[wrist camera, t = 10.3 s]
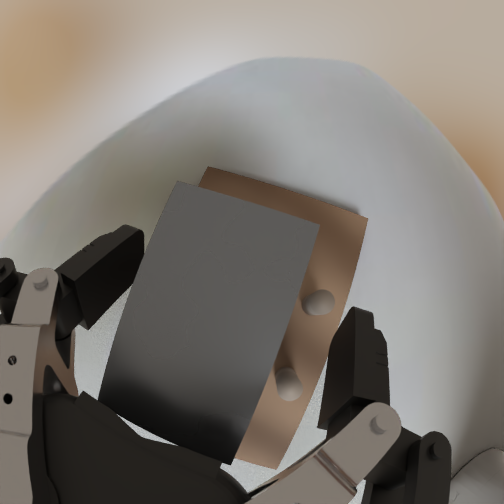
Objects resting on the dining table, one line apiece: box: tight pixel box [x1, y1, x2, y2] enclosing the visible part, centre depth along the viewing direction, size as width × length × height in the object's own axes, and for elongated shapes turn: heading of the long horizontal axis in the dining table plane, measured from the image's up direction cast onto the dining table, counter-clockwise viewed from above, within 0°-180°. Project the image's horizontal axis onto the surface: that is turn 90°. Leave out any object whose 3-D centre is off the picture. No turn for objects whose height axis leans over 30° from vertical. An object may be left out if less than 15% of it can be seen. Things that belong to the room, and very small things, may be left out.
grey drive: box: [98, 181, 320, 465], centre depth 11 cm, size 6×4×10 cm, turn 160°
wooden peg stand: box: [198, 167, 368, 470], centre depth 15 cm, size 17×11×4 cm, turn 160°
